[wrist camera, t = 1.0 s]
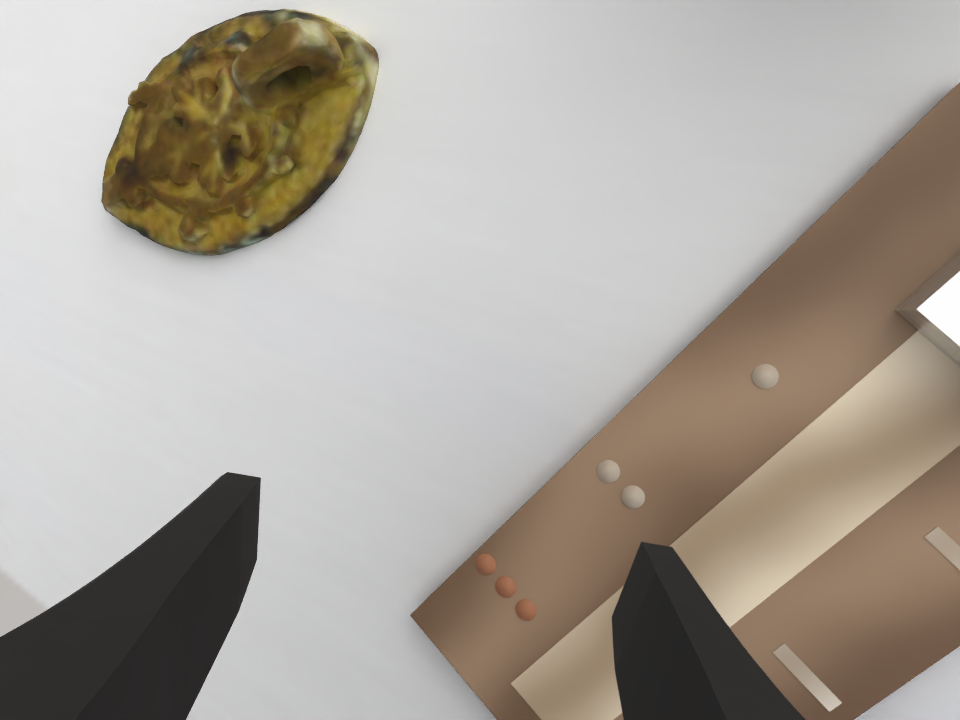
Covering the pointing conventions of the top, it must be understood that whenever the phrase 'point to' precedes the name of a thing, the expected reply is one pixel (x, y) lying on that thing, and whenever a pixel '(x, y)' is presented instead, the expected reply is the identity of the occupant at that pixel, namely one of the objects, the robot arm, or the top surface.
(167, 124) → the seal
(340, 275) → the top surface
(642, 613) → the robot arm
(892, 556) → the counting board
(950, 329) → the knob
